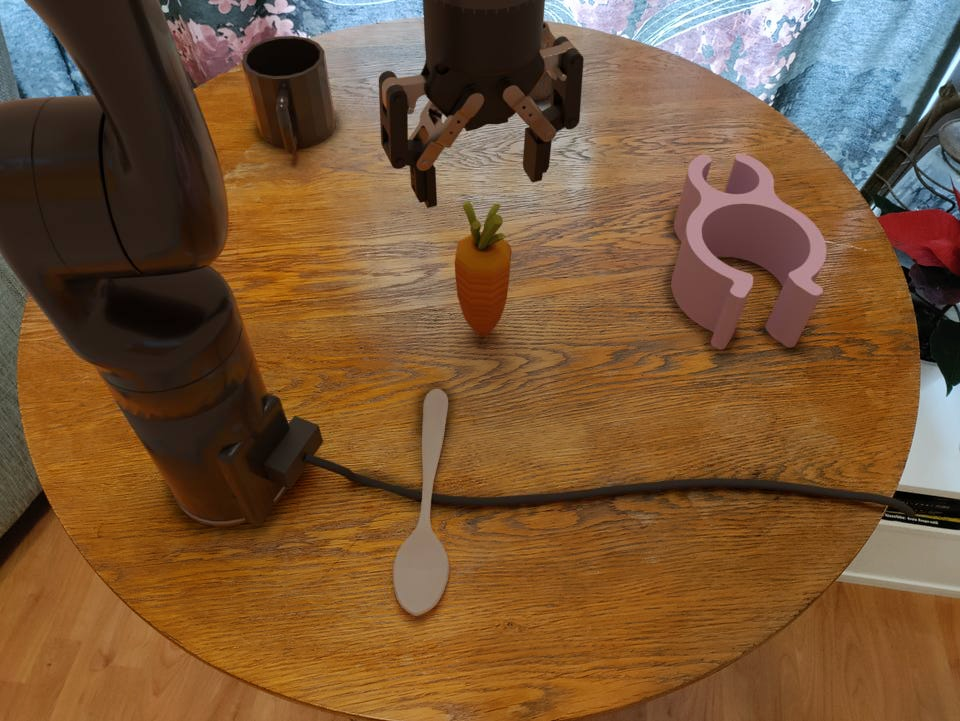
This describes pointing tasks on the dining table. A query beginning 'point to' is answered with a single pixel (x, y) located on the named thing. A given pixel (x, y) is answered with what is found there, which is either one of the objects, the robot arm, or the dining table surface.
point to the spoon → (424, 524)
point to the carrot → (483, 271)
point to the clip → (743, 251)
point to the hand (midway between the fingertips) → (481, 187)
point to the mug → (290, 91)
